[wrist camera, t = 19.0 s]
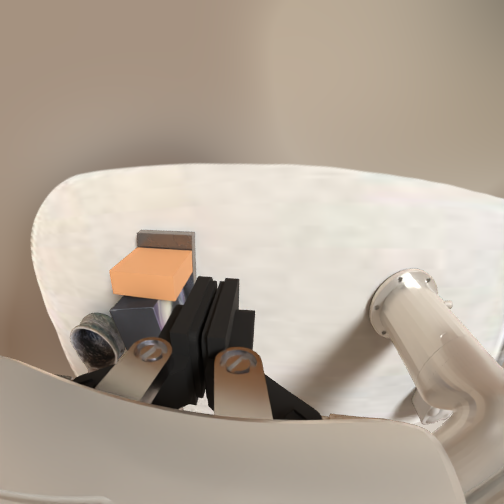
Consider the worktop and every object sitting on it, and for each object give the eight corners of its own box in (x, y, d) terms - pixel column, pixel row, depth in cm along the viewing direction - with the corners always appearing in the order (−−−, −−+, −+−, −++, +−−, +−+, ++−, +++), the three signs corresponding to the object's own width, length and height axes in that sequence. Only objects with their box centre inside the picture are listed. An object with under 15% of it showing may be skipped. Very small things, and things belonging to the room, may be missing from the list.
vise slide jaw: (191, 250, 36) (172, 276, 28) (192, 271, 37) (175, 301, 29) (137, 247, 36) (109, 270, 28) (139, 267, 37) (113, 293, 29)
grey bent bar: (194, 232, 37) (172, 257, 28) (199, 338, 43) (186, 379, 34) (141, 229, 37) (108, 253, 28) (154, 332, 43) (133, 370, 34)
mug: (122, 304, 42) (93, 339, 32) (145, 361, 46) (126, 398, 36) (81, 305, 43) (51, 335, 33) (106, 358, 47) (84, 391, 37)
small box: (199, 331, 40) (182, 379, 31) (161, 332, 41) (138, 377, 31) (181, 268, 37) (154, 308, 27) (140, 273, 38) (106, 310, 28)
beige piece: (407, 405, 48) (418, 432, 40) (428, 365, 44) (445, 393, 36) (440, 397, 48) (452, 421, 40) (462, 358, 43) (479, 383, 35)
